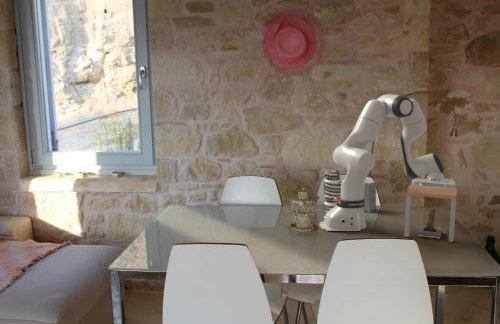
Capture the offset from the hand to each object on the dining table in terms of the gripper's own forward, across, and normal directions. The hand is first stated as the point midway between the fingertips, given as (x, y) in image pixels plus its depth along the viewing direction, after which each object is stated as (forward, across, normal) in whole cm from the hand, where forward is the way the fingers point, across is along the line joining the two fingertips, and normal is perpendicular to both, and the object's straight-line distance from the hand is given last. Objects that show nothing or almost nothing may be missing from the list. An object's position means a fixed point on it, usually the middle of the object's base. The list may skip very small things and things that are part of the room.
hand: (432, 188), depth 254 cm
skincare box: (-22, -33, +20) cm, 45 cm away
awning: (+11, +1, +20) cm, 23 cm away
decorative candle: (-1, -48, +21) cm, 52 cm away
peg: (+11, +1, +20) cm, 23 cm away
